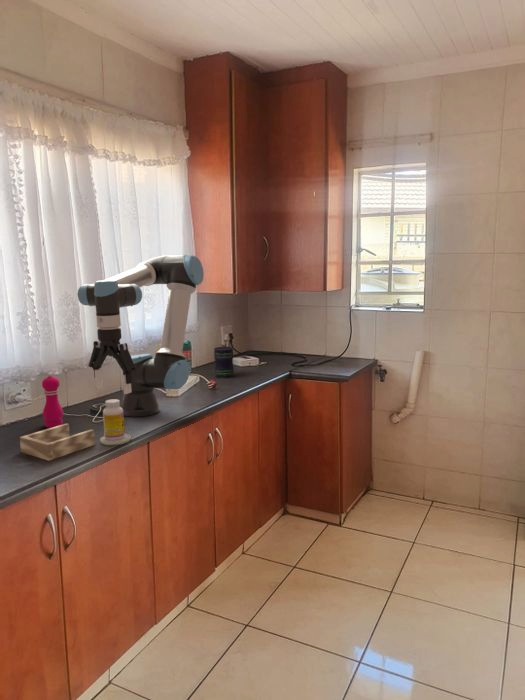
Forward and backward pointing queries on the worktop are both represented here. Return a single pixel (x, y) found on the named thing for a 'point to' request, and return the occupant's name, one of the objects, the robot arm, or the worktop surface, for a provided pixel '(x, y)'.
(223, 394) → the worktop surface
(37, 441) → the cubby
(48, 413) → the pepper mill
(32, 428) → the worktop surface
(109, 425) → the supplement bottle
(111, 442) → the sage green dome
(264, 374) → the worktop surface
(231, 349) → the dark blue canister
